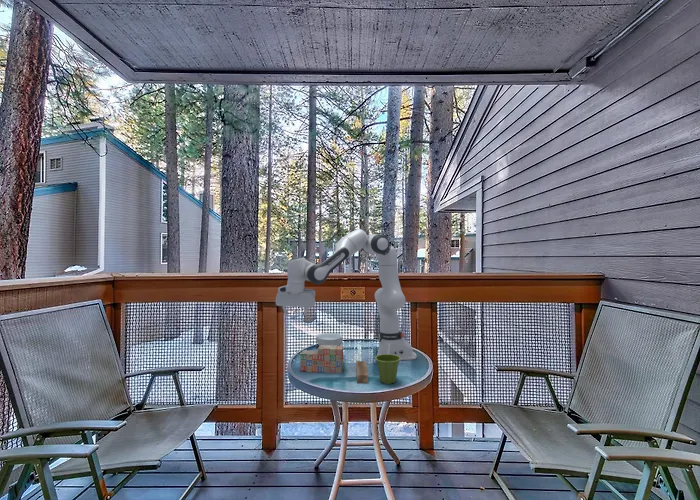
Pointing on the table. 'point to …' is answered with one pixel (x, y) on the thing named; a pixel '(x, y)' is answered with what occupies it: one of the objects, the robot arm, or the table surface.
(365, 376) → the board
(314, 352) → the stack of blocks
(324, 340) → the cereal bowl
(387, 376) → the plant pot
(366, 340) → the table surface
